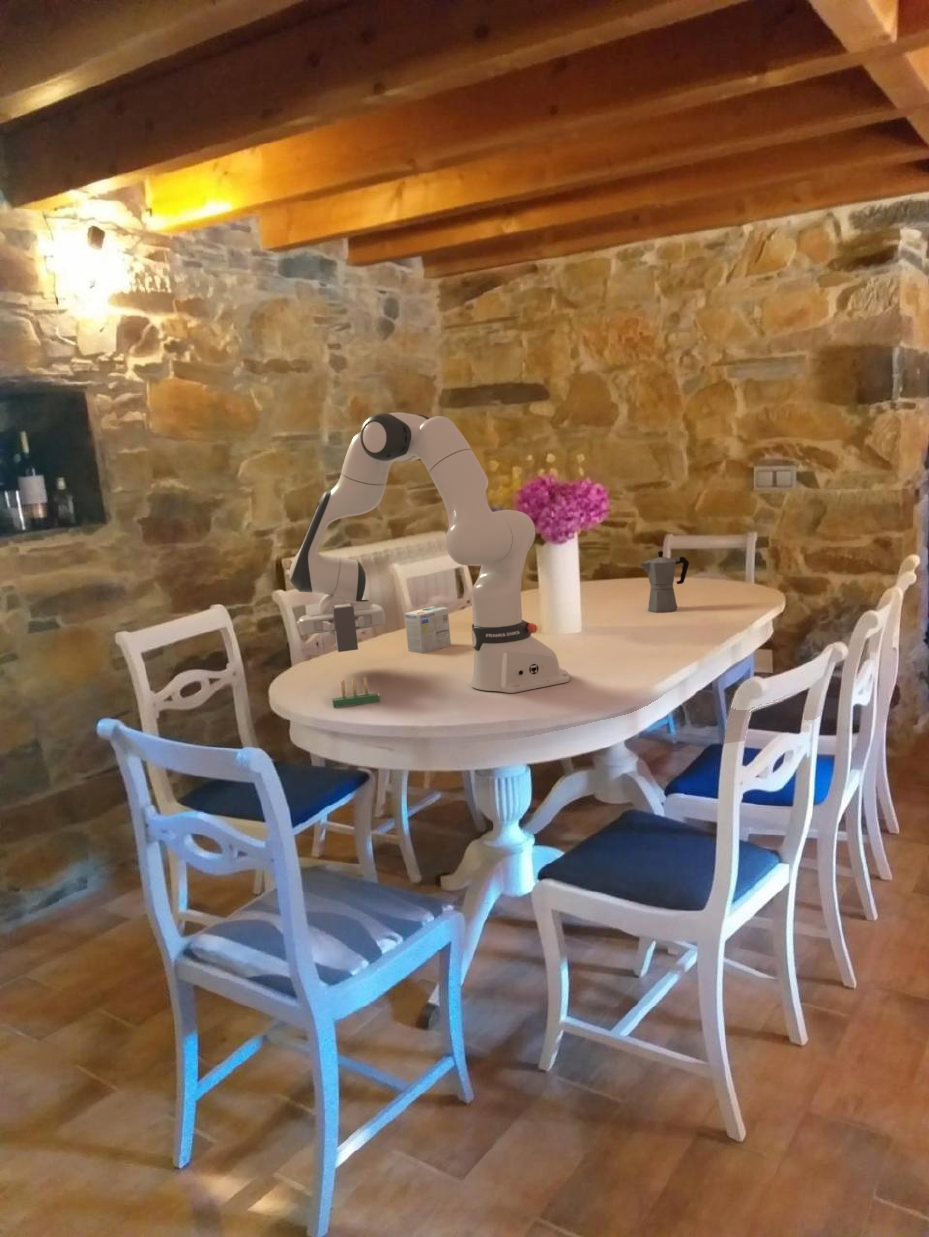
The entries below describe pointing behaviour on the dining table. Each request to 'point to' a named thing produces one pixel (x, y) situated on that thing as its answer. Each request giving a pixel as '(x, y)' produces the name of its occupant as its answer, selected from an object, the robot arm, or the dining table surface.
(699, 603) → the dining table surface
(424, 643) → the light bulb box
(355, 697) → the header strip
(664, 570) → the coffeepot
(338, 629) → the block
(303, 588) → the robot arm
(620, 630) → the dining table surface
